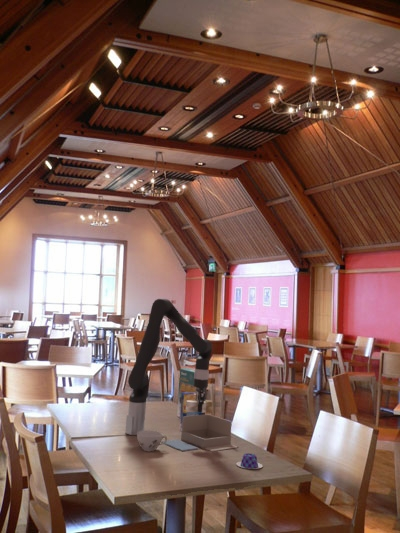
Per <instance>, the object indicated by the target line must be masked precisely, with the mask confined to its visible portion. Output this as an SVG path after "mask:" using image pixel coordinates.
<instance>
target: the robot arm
mask: <svg viewBox="0 0 400 533" xmlns="http://www.w3.org/2000/svg"><path fill="white" fill-rule="evenodd" d="M149 313H150V314H149V317H148V322H147V325H146V328H145V332H144V334H143V336H142V339H141V343H140V346H139V350H138V353H137V355H136V359H135V362H134V365H133V367H132V368H131V372H130V374H129V376H128V380H127V382H128V387H129V388H130V389H132V392H131V394H130V395H129V399H128V400H129V401H128V412H127V414H126V416H125V417H126V420H125V421H126V422H125V434H127V435H130V436H137V432H139V431H144V430H145V421H146V412H147V411H146V408H147V407H146V406H147V398H148V395H149V390H150V377H149V375H148V373H147V372H146V371H147V368H148V366H149V364H150V362H151V361H152V360H153V358H154V357H155V355H156V353H157V350H158V347H159V345H160V341H161V325H162V322H163V320H164V317H165V318H167V319H168V320H170V321H171V323H173V324H174V326H175V327H176V329H177V330H178V332H179V333H180V334H181V335H182V336H183V337H184V338H185V339H186V340H187V341H188V342H189V344H190V345H191V346H192V347H193V348H192V349H194V350H195V351H196V352H197V353H198V357H197V358H196V360H195V367H194V368H195V369H194V370H195V373H194V387H197V389H196V399H195V400H196V401H198V412H202V405H203V404H204V397H205V391H204V388H208V387H209V376H210V373H209V368H210V359H211V357H212V356H211V355H212V351H213V344H212V342H211V341H210V340H209V339H207V338H206V339H203V338H202V337H201V336H200V333H199V332H198V330H197V329H196V328H195V327H194V326H193V325H192V324H191V323H190V322H188V320H186V319H185V318H184V316H183V315H182V314H181V313H180V311H178V309H177V308H176V307H175V306H174V304H173V302H172V301H170V299H168V298H157V299H155V300H154V301H153V303H152V306H151V309H150V312H149ZM201 400H202V402H200V401H201Z"/></svg>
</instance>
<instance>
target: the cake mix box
mask: <svg viewBox="0 0 400 533" xmlns="http://www.w3.org/2000/svg"><path fill="white" fill-rule="evenodd" d="M194 373H195V369H191V368H180V369H179V381H178V394H177V395H178V396H177V410H176V411H177V413H176V417H177V418H180V411H181V395H182V392H189V393H196V389H197V387H194ZM207 388H208V387H207ZM207 388H204V391H205V397H204V401H205V400H207ZM202 415H206V412H202Z"/></svg>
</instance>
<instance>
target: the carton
mask: <svg viewBox="0 0 400 533" xmlns="http://www.w3.org/2000/svg"><path fill="white" fill-rule="evenodd" d="M232 422H233V421H231V420H228V419H224V418H222V417H219V416H216V415H213V414H210V413H209V414H208V413H205V415H195V416H185V417H183V422H182V434H180V436H181V437H180V441H182V442H185V443H187V444H190V445H192V446H195V447H197V448H201V449H204V450H207V451H209V452H217V451H218V452H221V451H227V450H231V449H232V450H233V449H238V448H239V446H236V445H233V444H231V443H232V442H231V441H232Z"/></svg>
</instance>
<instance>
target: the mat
mask: <svg viewBox="0 0 400 533" xmlns="http://www.w3.org/2000/svg"><path fill="white" fill-rule="evenodd" d="M163 442H165V440H164V441H162V440H161V443H163ZM161 443H160V444H161ZM164 445H166V446H168V447H171V448H173V449H176V450H178V451H180V452H189V451H195V450H199V447H198V446H196V445H193V444H191V443H188V442H186V441H183V440H181V439H171V440H167V441H166V443H165V444H164Z"/></svg>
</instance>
